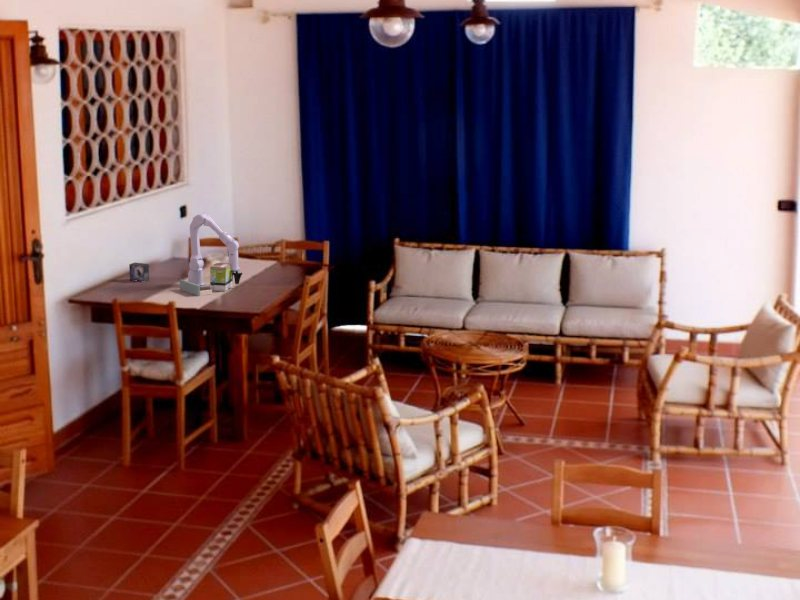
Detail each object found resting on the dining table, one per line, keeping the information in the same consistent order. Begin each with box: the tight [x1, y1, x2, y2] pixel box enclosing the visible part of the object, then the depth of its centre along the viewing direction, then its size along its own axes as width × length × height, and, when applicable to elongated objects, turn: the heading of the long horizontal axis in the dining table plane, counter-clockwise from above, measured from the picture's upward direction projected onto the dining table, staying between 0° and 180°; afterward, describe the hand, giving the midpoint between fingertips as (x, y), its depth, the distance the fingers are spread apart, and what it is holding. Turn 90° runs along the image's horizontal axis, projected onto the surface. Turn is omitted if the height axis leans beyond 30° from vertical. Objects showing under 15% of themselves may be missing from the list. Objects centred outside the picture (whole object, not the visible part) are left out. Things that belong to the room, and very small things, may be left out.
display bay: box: [179, 278, 213, 297], centre depth 691 cm, size 22×9×6 cm, turn 38°
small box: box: [128, 262, 150, 282], centre depth 720 cm, size 11×6×10 cm, turn 68°
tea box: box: [209, 262, 233, 292], centre depth 699 cm, size 15×10×15 cm
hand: (233, 282), depth 706 cm, fingers open, 7 cm apart
